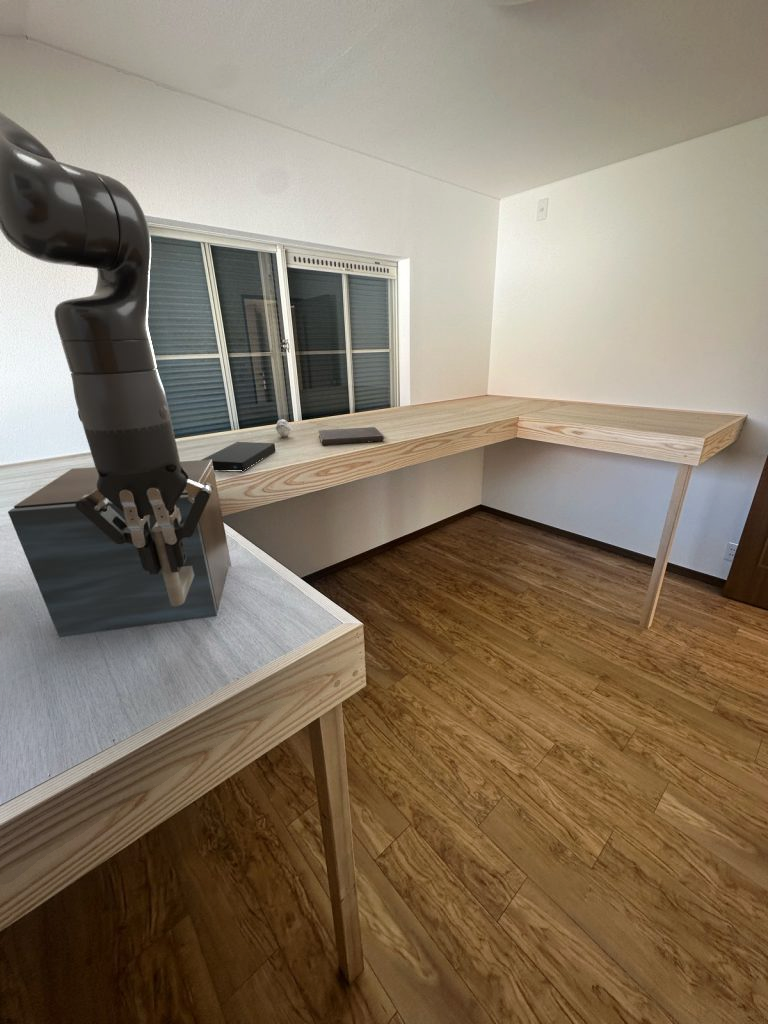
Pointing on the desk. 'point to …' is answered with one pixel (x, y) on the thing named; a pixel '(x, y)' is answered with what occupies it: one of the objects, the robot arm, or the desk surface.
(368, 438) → the hardcover book
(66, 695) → the desk surface
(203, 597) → the door
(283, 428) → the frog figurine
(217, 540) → the cupboard
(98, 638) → the desk surface
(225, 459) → the external hard drive
